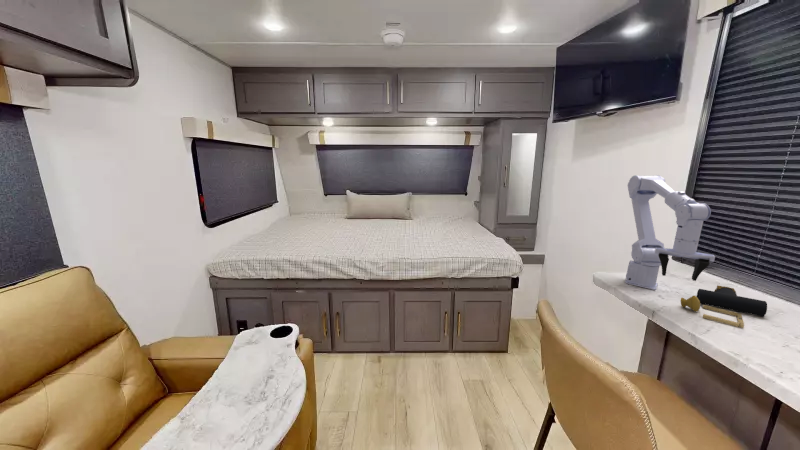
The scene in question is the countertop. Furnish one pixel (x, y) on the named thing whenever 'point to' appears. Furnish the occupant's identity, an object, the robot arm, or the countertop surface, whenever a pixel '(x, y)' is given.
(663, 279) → the countertop surface
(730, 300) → the pipe connector
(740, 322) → the u-shaped bracket
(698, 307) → the knob
